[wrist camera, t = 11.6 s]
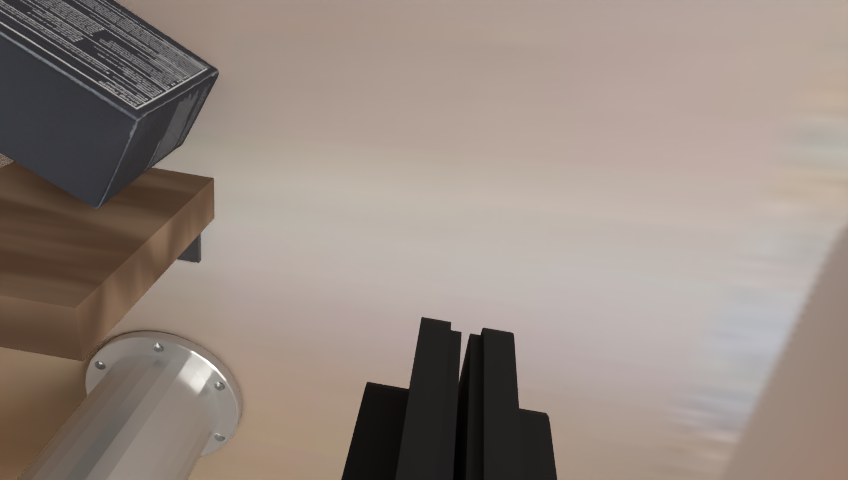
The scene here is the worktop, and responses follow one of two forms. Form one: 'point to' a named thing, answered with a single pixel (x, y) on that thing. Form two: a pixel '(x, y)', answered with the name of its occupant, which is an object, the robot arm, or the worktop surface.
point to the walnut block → (88, 254)
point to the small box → (93, 93)
